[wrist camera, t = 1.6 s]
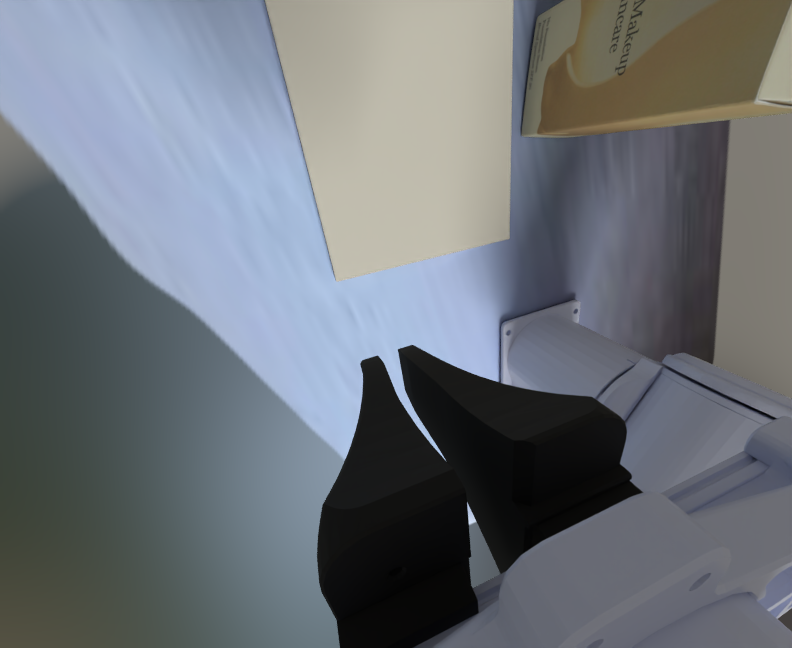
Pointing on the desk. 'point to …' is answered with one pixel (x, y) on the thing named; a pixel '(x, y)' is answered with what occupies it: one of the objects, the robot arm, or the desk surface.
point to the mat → (401, 123)
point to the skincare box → (656, 65)
